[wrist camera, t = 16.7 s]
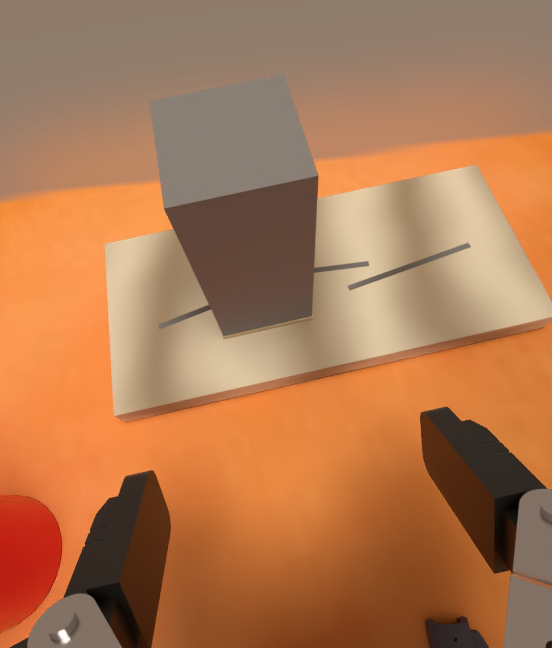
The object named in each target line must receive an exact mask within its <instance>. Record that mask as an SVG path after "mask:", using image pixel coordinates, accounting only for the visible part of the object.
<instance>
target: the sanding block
mask: <svg viewBox="0 0 552 648" xmlns="http://www.w3.org/2000/svg"><path fill="white" fill-rule="evenodd" d="M150 107H151V114H152V122H153V130H154V137H155V145H156V151H157V159H158V167H159V174H160V182H161V189H162V197H163V204H164V209H165V212H166V214H167V216H168V218H169V220H170V222H171V224H172V227H173V229H174V231H175V233H176V235H177V237H178V239H179V242H180V244H181V246H182V248H183V250H184V252H185V254H186V257H187V259H188V261H189V263H190V265H191V267H192V269H193V272H194V274H195V276H196V278H197V280H198V282H199V284H200V287H201V289H202V291H203V293H204V295H205V297H206V299H207V302H208V304H209V306H210V308H211V310H212V312H213V314H214V317H215V319H216V321H217V323H218V325H219V327H220V329H221V332H222V336H223V339H228V338H233V337H237V336H242V335H246V334H251V333H255V332H260V331H264V330H269V329H273V328H278V327H282V326H287V325H291V324H295V323H300V322H304V321H309V320H313V314H312V306H313V283H314V261H315V239H316V216H317V194H318V173H317V170H316V167H315V164H314V161H313V158H312V156H311V153H310V150H309V147H308V144H307V141H306V138H305V135H304V132H303V129H302V126H301V123H300V121H299V117H298V114H297V111H296V108H295V106H294V102H293V100H292V97H291V94H290V90H289V88H288V85H287V82H286V79H285V76H284V74H281V75H276V76H271V77H266V78H261V79H256V80H251V81H246V82H241V83H236V84H232V85H227V86H222V87H217V88H212V89H207V90H202V91H197V92H193V93H188V94H183V95H178V96H174V97H169V98H163V99H158V100H153V101H150Z"/></svg>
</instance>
